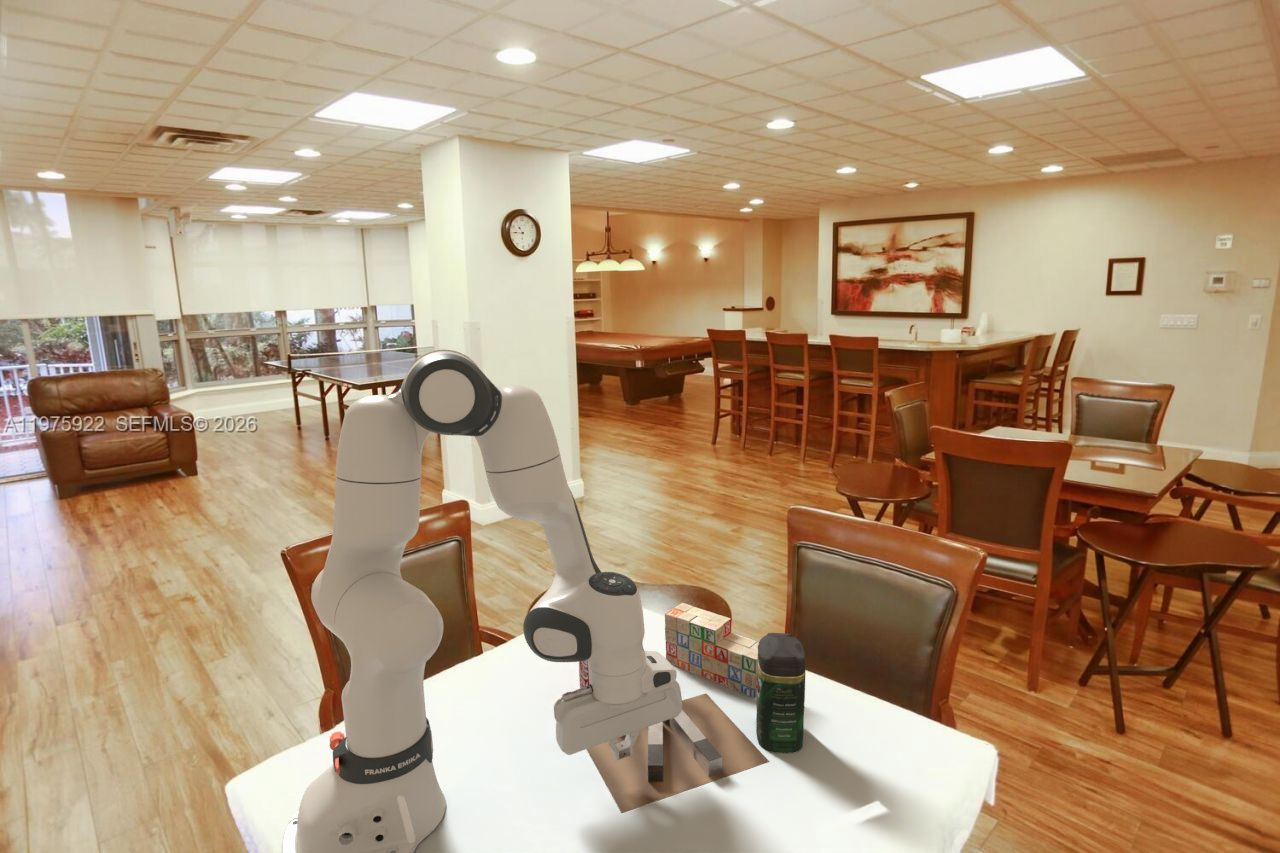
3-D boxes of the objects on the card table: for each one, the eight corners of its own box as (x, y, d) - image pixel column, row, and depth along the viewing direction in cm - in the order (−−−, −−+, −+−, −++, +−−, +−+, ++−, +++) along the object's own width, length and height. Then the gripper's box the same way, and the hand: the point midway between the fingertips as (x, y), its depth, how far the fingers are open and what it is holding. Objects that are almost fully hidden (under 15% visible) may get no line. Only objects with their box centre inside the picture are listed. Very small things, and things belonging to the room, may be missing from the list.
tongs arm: (648, 781, 107) (647, 762, 106) (649, 712, 125) (648, 695, 124) (684, 781, 107) (684, 761, 106) (680, 712, 124) (680, 694, 124)
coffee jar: (806, 760, 113) (809, 658, 109) (758, 758, 114) (759, 656, 110) (799, 723, 122) (801, 628, 119) (754, 722, 123) (755, 627, 119)
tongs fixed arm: (708, 777, 108) (708, 761, 107) (669, 726, 120) (669, 711, 120) (721, 772, 109) (721, 756, 108) (681, 723, 121) (681, 708, 121)
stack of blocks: (771, 689, 133) (772, 631, 131) (755, 705, 128) (756, 645, 126) (682, 654, 146) (682, 601, 144) (664, 667, 142) (664, 612, 139)
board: (621, 819, 101) (621, 812, 101) (576, 736, 120) (576, 730, 120) (769, 767, 111) (769, 761, 111) (706, 699, 130) (706, 693, 130)
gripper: (560, 709, 97) (567, 792, 100) (685, 668, 105) (688, 746, 108) (546, 686, 102) (553, 766, 106) (666, 649, 111) (669, 723, 114)
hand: (622, 755), depth 107 cm, fingers closed
